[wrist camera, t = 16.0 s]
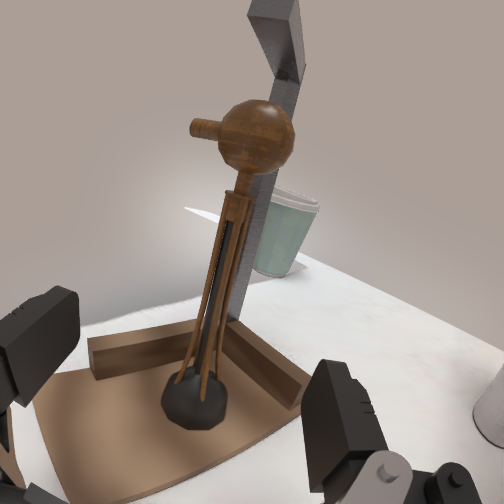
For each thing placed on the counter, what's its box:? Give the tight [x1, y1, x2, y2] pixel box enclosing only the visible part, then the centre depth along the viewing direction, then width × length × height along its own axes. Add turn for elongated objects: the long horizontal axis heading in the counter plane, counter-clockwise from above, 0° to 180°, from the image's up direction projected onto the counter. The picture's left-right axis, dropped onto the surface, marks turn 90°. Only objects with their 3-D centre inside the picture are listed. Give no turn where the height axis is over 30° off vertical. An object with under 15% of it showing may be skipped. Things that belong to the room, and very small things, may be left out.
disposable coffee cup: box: [253, 185, 319, 278], centre depth 50 cm, size 11×11×15 cm
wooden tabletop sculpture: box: [161, 100, 295, 430], centre depth 16 cm, size 6×5×20 cm
